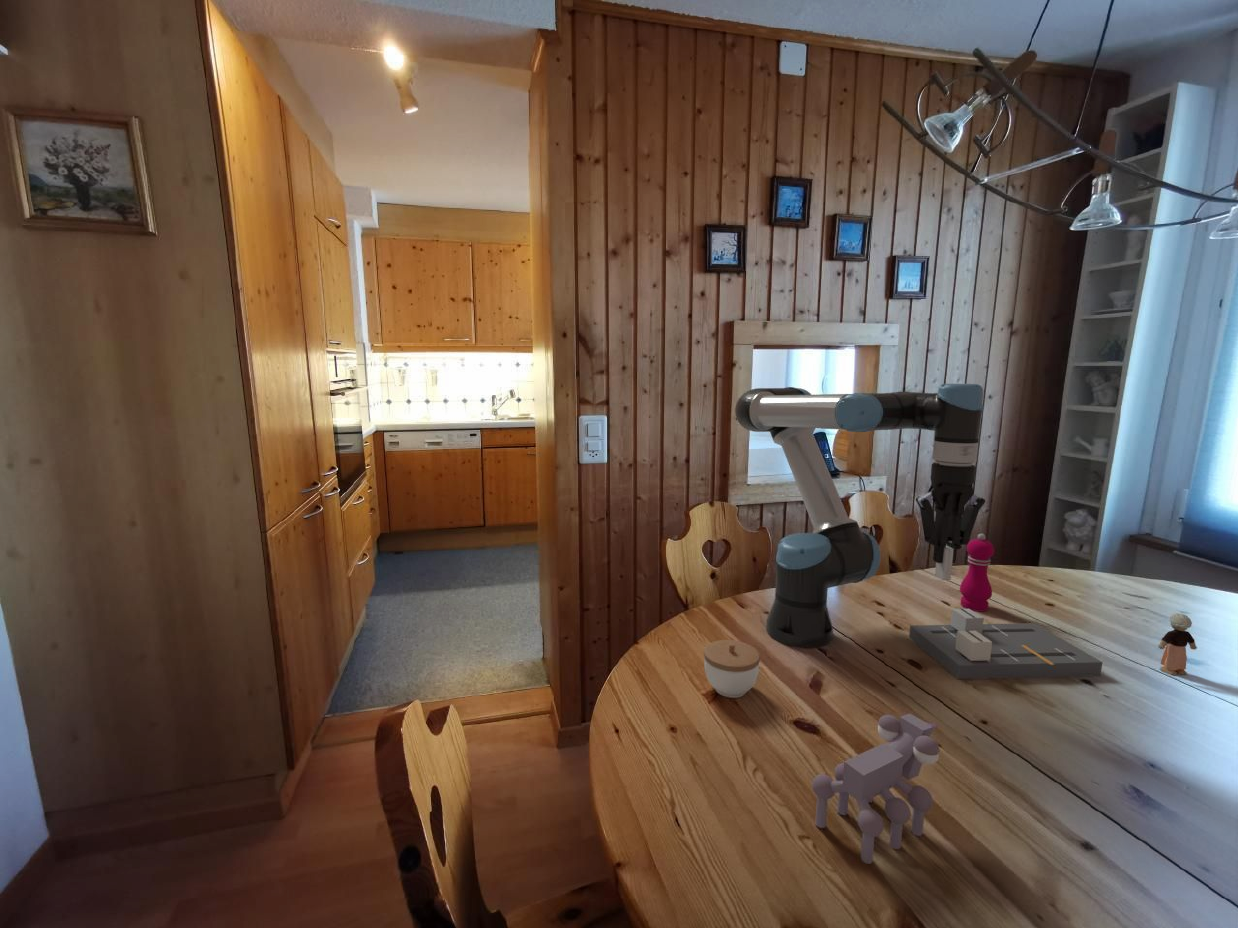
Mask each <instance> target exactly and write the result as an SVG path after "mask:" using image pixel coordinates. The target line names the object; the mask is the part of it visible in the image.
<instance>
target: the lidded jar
mask: <svg viewBox="0 0 1238 928" xmlns="http://www.w3.org/2000/svg"><path fill="white" fill-rule="evenodd" d="M703 658H704V660H703V662H704V665H703V666H704V671H705V676H706V678H707V681H708V683H709V684H710V685H711V687H712V688H713V689H714V690H715V691H716V693H717V694H718V695H721V696H722V697H726V698H733V699H734V698H741V697H743V696H745V695H746V693H747V692H749V691H750V690H751V689H752V688H753V687H754V685H755V683H756V682H757V678H758V676H759V669H760V661H761V655H760V652H759V651H758V649H756V647H754V646H753V645H751V644H748V643H747V642H743V641H739V640H735V639H720V640H715V641H712V642H710V643H708V644H706V646H705V648H704V649H703Z"/></svg>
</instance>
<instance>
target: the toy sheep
mask: <svg viewBox="0 0 1238 928" xmlns="http://www.w3.org/2000/svg"><path fill="white" fill-rule="evenodd" d="M936 727H937V724H934V723H930V722H926V721H924V720H922V719H921V718H918V717H917V716H915V715H913V714H912V713H908V714H905V715H902V716H899V719H898V718H897V717H896V716H894V715H892V714H884V715H881V716H880V718H878V725H877V731H878V735H879V736H880V738H881V739H882V740H883V741H885V742H887V743H888V744H886V743H885V742H883V743H881V744H879V745H877V746H875V747H871V748H870V749H868V750H866V751H864V752H862V753H860V754H857V755H855V756H853V757H851V758H848V759H846V760H844V762H841V763H838V764H837V765H836V766H835V768H834V773H833V775H834V778H835V780H833V779H832V778H831V777H830V776H829V775H826V774H823V773H821V774H818V775H817V774H816V776H815V777H813V780H812V783H811V788H812V791H813V792H814V794H815V795H816V809H815V822H814V825H815V826H816V827H817V828H820V829H825V828H826V824H827V811H828V810H827V809H828V800H830V799H833V797H834V796H835V794H837V793H838V799H837V808H836V812H837V813H838V814H839V815H842V816H847V815H848V812H849V798H850V796H851V797H852V798H853V799H855V800H856V803H857V807H858V809H859V811H860V812H859V813H858V815H857V825H858V828H859V829H860V831H861V832H862V839H861V840H862V841H861V854H860V858H861V859H860V860H861V861H862V862H863V863H864V864H868V865H869V864H870V865H871V864H872V863H873V859H874V847H875V838H876V837H880V835H882V833H883V832H884V827H885V825H884V819H882V817H881V815H880V814H879V813H878V812H877V811H875V810H874V809H872V808H871V806H870V804H869V803H873V801H874V798H875V797H877V796H879V795H880V796H881V798H882V799H883V800H884V802H885V804H884V812H885V814H886V816H887V818H888V819H889V820H890V821H891V823H890V833H889V841H888V842H889V846H890V847H891V848H892V849H893V850H899V849H900V848H901V847H902V837H903V827H904V826H903V825H905V824H907V823H909V821H910V819H911V827H910V828H911V831H910V832H911V833H912V834H913V835H915V836H918V837H922V836H923V831H924V824H925V823H924V821H925V814H926V812H928V811H929V810H931V809H932V806H933V802H934V801H933V797H932V795H931V793H930V791H929V790H928V789H927V788H926V787H924V786H922V785H912V784H910V783H909V782H907V781H909V780H911V779H914V778H916V777H919V774H920V771H921V767H922V765H925V766H932V765H934V764H936V763H937V761H938V759H939V753H940V747H939V745H938V742H937V741H936V740H935V739H934V738H933V737H931V735H932V733H933V731H934V730H935V728H936ZM903 778H904V779H906V780H907V781H906V780H904V779H903ZM894 787H896V788H897V789H899V790H900V791H901V792H903V793H904V795H906V797H907V798H906V799H907V801H908V803H907V802H906V801H905V800H904V799H902V798H900V797H896V796H895V795H894V793H892V792H891V789H892V788H894ZM908 804H909V805H908ZM910 806H911V807H912V809H913V810H912V812H911V808H910ZM911 813H912V815H911ZM911 816H912V817H911Z"/></svg>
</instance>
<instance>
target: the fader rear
mask: <svg viewBox="0 0 1238 928" xmlns="http://www.w3.org/2000/svg"><path fill="white" fill-rule="evenodd" d="M983 624H984V617H983V616H982V615H980V614H978V613H977V612H976V611H974V610H970V609H967V608H952V609H951V617H950V625H951V626H952V627H954V628H955V629H957V630H958V631H977V632H978V633H980V634H981V635H982V629H983Z"/></svg>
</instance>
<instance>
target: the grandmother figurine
mask: <svg viewBox="0 0 1238 928" xmlns="http://www.w3.org/2000/svg"><path fill="white" fill-rule="evenodd" d="M1169 623H1170V626H1171V628H1172V630H1171V631H1170V630H1169V631H1168V632H1166V633H1165V634H1164V636H1163V637H1162V638H1161V640H1160V642H1159V644H1158V645H1157V647H1158V649H1160V650H1164V651H1163V653H1162V656H1161V660H1160V665H1161V666H1160V668H1159V670H1160V671H1162V672H1163V673H1166V674H1167V675H1171V676H1178V674H1180V675H1184V676H1185V675H1187V674H1188V673H1187V671H1186V669H1187V660H1188V657H1187V648H1186V647H1187V646H1188V645H1189V648H1190V649H1191V650H1194V651H1196V650H1197V649H1198V647H1197V645H1196V642H1195V639H1194V637H1193V636H1192V634H1191V633H1190V632H1189V631H1187V629H1189V628H1191V627H1192V625H1193V622H1192V620H1191V618H1190V617H1189V616H1188V615H1186V614H1185V613H1180V612H1179V613H1178V612H1177V613H1176V612H1174V613H1173V614H1171V615H1170V616H1169Z"/></svg>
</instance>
